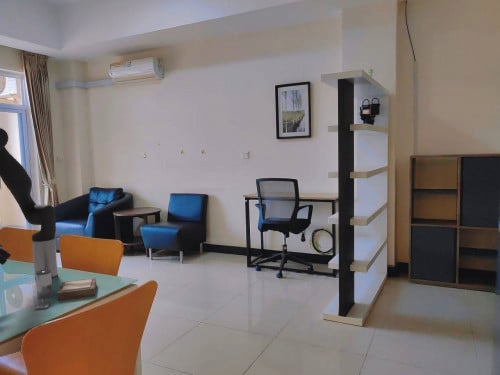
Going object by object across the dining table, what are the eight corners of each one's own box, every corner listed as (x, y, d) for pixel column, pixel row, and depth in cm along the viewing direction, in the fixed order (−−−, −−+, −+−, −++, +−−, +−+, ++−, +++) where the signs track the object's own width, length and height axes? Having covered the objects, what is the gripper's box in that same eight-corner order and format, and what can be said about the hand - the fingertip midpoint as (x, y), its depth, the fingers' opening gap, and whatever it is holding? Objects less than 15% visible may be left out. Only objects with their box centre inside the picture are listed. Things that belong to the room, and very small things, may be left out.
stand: (62, 289, 156) (61, 281, 156) (96, 285, 160) (95, 277, 160) (57, 300, 144) (57, 292, 144) (94, 295, 148) (94, 287, 148)
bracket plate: (38, 305, 141) (38, 302, 141) (50, 303, 143) (50, 300, 142) (35, 311, 136) (35, 308, 136) (47, 309, 137) (47, 306, 137)
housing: (39, 294, 151) (37, 270, 150) (53, 292, 152) (51, 268, 151) (36, 299, 146) (34, 274, 145) (51, 297, 148) (49, 272, 147)
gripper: (-29, 228, 131) (11, 256, 137) (-20, 222, 144) (17, 248, 150) (-47, 245, 130) (-5, 272, 135) (-36, 237, 143) (2, 263, 148)
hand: (7, 259), depth 143 cm, fingers open, 8 cm apart
